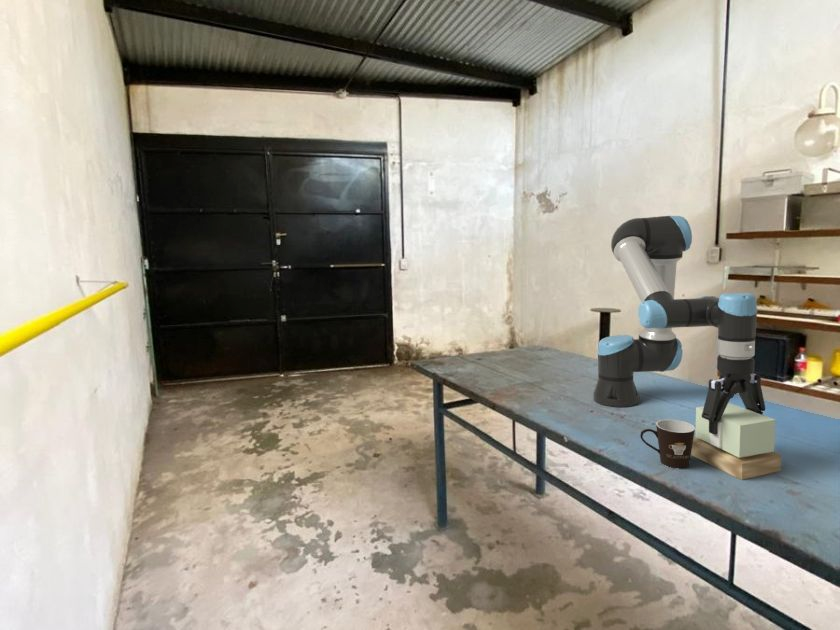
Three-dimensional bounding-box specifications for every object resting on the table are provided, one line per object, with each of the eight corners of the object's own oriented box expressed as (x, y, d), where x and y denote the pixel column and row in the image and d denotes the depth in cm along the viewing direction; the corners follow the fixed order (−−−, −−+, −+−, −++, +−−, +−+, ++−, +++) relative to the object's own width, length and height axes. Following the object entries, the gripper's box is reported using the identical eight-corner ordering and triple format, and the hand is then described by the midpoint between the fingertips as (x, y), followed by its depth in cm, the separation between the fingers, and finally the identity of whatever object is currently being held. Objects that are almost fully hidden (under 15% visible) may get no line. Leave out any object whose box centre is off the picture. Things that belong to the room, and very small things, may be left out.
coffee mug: (697, 460, 115) (698, 423, 114) (690, 474, 109) (690, 435, 108) (648, 449, 123) (648, 415, 122) (639, 461, 117) (639, 425, 116)
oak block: (688, 453, 120) (688, 439, 119) (724, 446, 123) (724, 432, 122) (741, 479, 105) (742, 463, 105) (780, 470, 108) (781, 455, 108)
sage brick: (695, 436, 119) (696, 407, 117) (727, 431, 120) (728, 402, 119) (739, 457, 106) (740, 425, 105) (774, 451, 108) (775, 419, 107)
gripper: (712, 365, 104) (709, 455, 107) (786, 353, 109) (782, 440, 112) (685, 358, 111) (683, 443, 114) (756, 348, 117) (753, 429, 120)
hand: (732, 441), depth 113 cm, fingers closed on sage brick, 10 cm apart
